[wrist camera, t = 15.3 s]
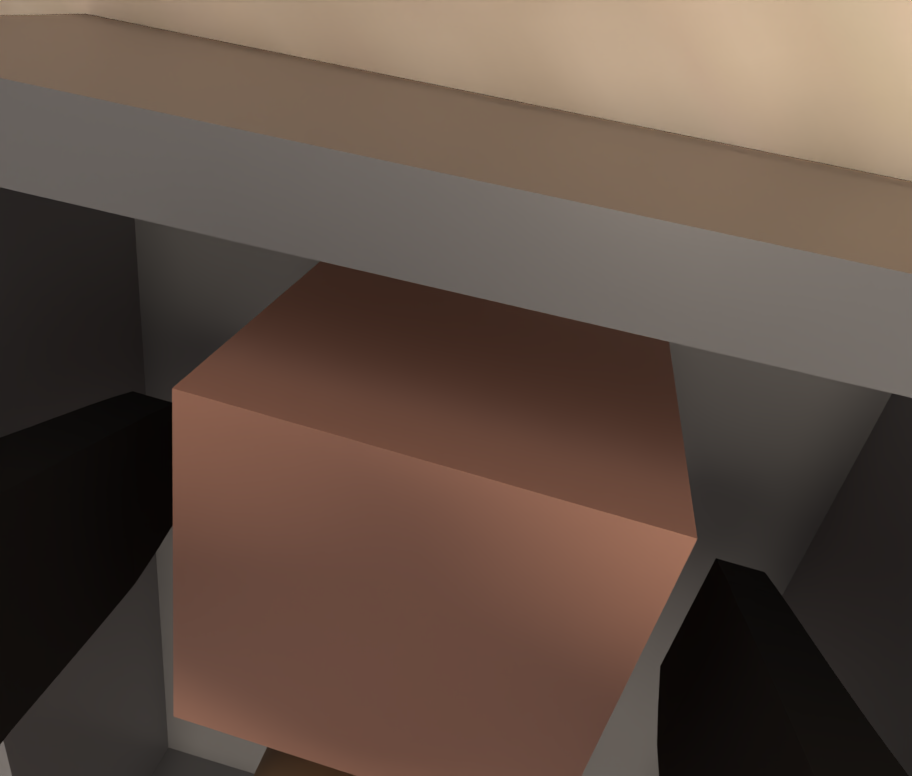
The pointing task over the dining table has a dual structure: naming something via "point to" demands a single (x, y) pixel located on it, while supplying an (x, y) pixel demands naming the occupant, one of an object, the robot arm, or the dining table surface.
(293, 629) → the cube
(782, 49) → the dining table surface
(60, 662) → the robot arm
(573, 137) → the tote
